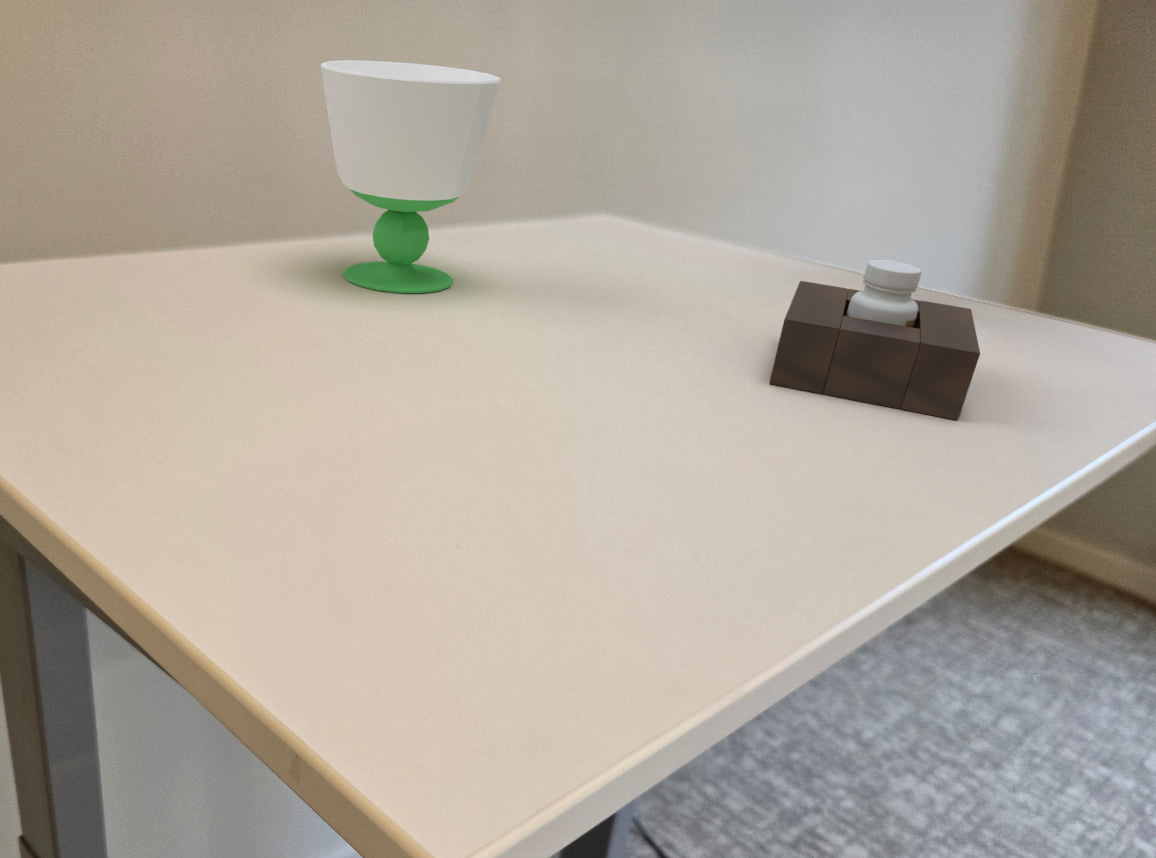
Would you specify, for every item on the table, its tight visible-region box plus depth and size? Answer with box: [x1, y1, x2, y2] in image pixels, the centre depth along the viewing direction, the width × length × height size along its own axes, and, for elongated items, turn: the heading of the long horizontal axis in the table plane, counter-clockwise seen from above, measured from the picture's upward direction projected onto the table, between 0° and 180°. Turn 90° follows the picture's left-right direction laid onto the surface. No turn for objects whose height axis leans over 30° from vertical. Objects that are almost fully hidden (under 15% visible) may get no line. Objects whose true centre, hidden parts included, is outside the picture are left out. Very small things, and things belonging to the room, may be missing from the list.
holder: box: [768, 280, 981, 421], centre depth 74 cm, size 12×12×4 cm
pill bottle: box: [846, 259, 922, 328], centre depth 74 cm, size 4×4×8 cm
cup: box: [319, 59, 502, 294], centre depth 85 cm, size 14×14×16 cm
